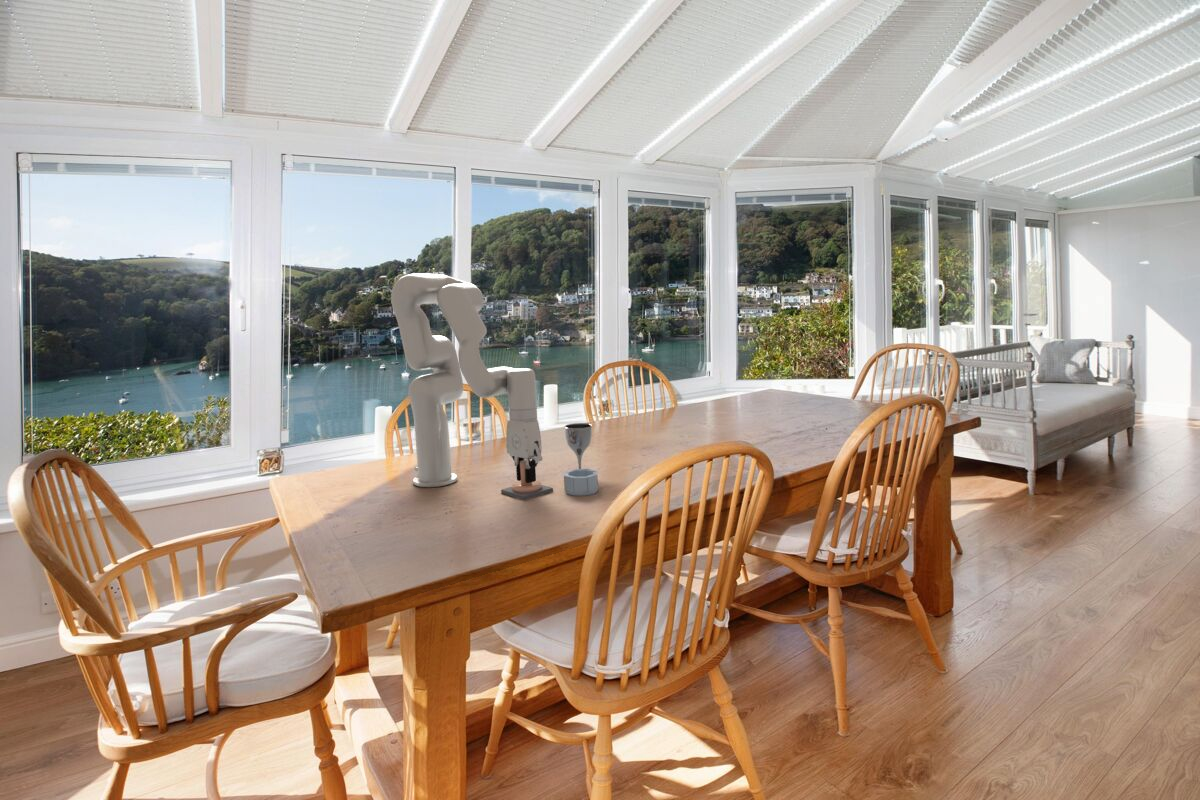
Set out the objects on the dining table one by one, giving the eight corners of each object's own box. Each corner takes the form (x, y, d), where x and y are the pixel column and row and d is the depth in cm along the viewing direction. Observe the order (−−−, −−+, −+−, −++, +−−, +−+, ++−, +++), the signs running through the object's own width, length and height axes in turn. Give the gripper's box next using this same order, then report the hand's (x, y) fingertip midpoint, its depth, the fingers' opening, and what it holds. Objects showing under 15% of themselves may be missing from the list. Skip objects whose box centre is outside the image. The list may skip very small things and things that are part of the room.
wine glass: (590, 479, 197) (588, 428, 195) (563, 478, 198) (561, 428, 196) (596, 472, 205) (594, 423, 202) (570, 471, 206) (568, 423, 204)
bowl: (558, 491, 185) (557, 474, 185) (581, 484, 192) (581, 467, 191) (581, 498, 179) (580, 479, 178) (604, 490, 185) (604, 472, 185)
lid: (506, 489, 186) (504, 461, 185) (528, 482, 192) (527, 456, 190) (524, 494, 180) (523, 466, 179) (547, 487, 186) (546, 460, 185)
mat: (501, 493, 186) (501, 489, 186) (529, 485, 193) (529, 481, 193) (524, 500, 179) (524, 496, 179) (553, 491, 186) (552, 487, 186)
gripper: (493, 413, 186) (497, 478, 189) (531, 419, 175) (535, 489, 177) (515, 409, 191) (518, 473, 194) (553, 415, 180) (556, 483, 183)
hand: (526, 480), depth 186 cm, fingers closed on lid, 3 cm apart
